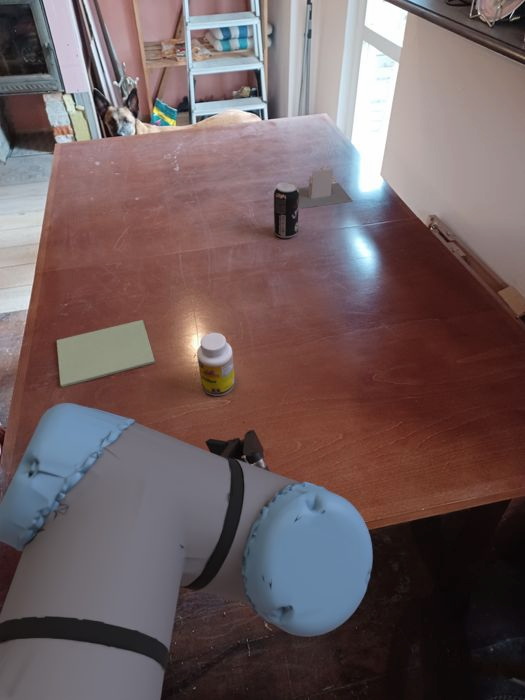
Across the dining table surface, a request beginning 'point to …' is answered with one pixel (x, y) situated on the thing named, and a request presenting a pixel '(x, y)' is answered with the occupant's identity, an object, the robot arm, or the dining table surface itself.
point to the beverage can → (286, 210)
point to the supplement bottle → (216, 364)
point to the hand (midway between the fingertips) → (164, 478)
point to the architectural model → (322, 190)
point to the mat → (103, 353)
